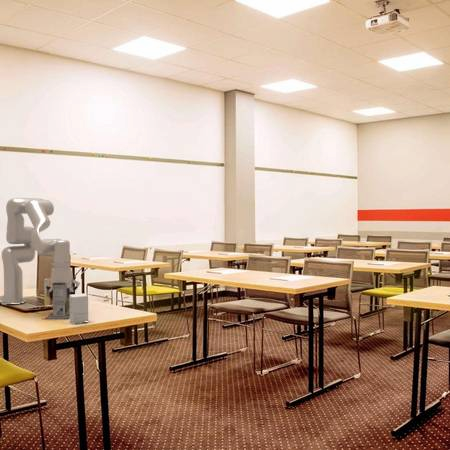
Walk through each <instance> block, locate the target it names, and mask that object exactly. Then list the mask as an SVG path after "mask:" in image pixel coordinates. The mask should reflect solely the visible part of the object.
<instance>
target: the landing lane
mask: <svg viewBox="0 0 450 450" xmlns="http://www.w3.org/2000/svg"><path fill="white" fill-rule="evenodd" d="M41 320H70V313H69V314H67V315H66V316H53V311H51V312H50V313H47V315H46V316H43V317H42V318H41Z"/></svg>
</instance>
